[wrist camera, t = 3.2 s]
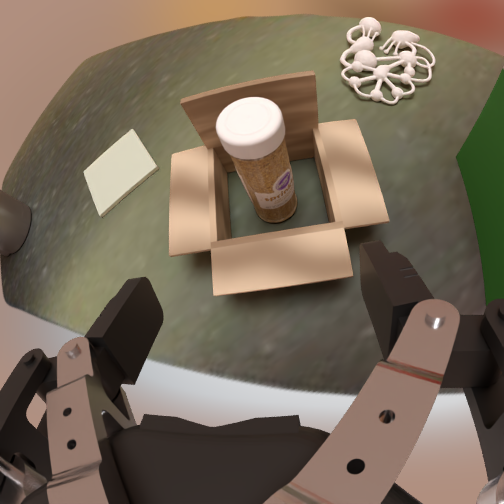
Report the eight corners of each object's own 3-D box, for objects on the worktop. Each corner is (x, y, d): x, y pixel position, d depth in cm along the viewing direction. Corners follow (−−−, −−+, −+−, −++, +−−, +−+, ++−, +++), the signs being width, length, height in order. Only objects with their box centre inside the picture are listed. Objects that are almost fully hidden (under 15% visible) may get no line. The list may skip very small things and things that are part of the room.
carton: (386, 279, 26) (430, 238, 15) (192, 306, 29) (122, 284, 18) (352, 147, 31) (359, 66, 19) (189, 177, 34) (140, 113, 23)
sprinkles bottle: (287, 230, 29) (263, 151, 17) (247, 215, 31) (201, 135, 18) (304, 192, 30) (292, 101, 18) (265, 179, 32) (233, 90, 19)
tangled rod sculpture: (418, 129, 31) (427, 110, 27) (317, 87, 34) (318, 66, 30) (433, 57, 34) (439, 40, 30) (355, 26, 37) (357, 8, 33)
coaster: (102, 217, 35) (99, 215, 35) (85, 173, 39) (83, 171, 38) (159, 168, 35) (156, 166, 35) (134, 130, 39) (132, 128, 38)
